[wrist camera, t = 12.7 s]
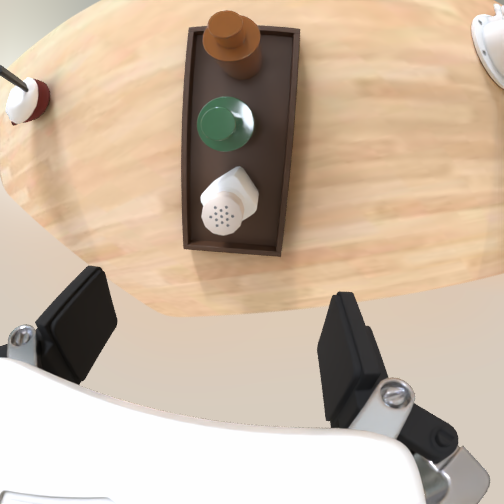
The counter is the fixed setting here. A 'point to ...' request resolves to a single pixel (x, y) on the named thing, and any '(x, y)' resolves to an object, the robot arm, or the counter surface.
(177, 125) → the counter surface
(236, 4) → the counter surface
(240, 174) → the salt shaker
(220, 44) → the amber bottle
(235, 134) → the green bottle
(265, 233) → the tray
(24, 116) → the cocoa
